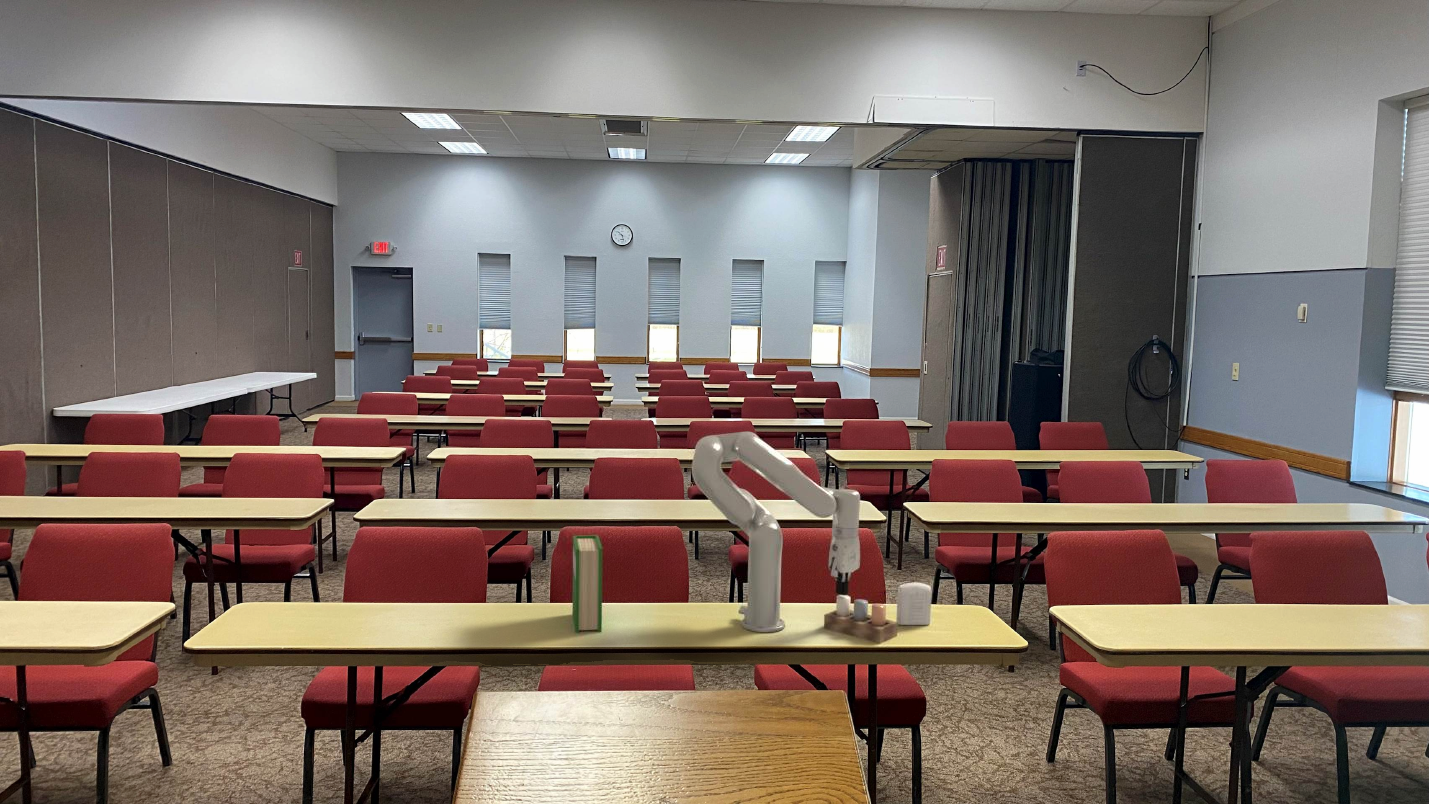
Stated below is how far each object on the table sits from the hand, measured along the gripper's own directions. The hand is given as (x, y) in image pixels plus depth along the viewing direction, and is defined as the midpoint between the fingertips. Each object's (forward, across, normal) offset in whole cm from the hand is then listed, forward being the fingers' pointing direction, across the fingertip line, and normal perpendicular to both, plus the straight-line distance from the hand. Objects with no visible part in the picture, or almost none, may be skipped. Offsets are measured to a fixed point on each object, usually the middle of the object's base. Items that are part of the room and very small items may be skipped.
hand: (841, 593), depth 266 cm
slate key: (+8, 0, -7) cm, 10 cm away
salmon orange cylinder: (+8, 0, -13) cm, 15 cm away
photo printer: (+10, +18, -14) cm, 25 cm away
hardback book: (+12, -50, +54) cm, 75 cm away
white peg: (+8, 0, -1) cm, 8 cm away
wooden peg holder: (+10, 0, -7) cm, 12 cm away
